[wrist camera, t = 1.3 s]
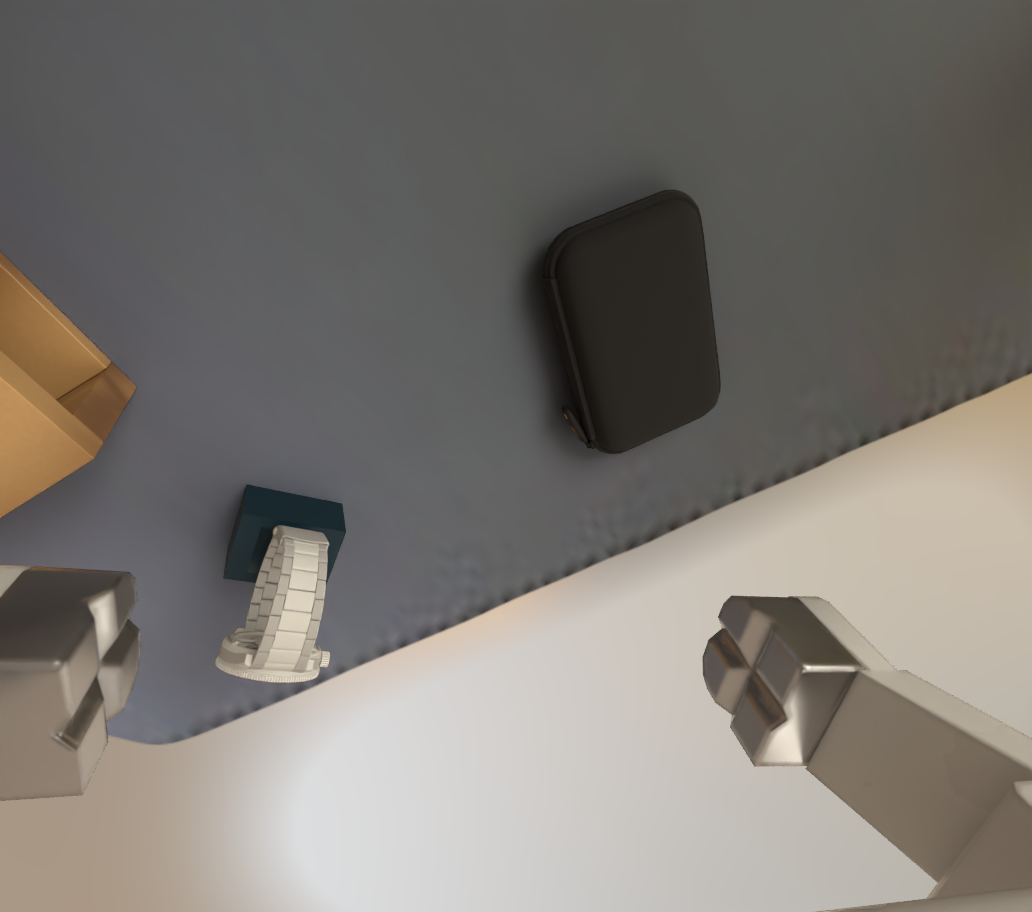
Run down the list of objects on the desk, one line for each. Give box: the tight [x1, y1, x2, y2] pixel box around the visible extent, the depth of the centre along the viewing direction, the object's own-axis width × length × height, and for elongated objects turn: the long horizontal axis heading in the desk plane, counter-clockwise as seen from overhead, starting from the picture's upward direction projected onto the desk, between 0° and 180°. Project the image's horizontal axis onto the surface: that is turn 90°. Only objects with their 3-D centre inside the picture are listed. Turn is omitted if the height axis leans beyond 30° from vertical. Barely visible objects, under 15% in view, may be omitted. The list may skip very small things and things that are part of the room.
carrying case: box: [542, 190, 720, 454], centre depth 37 cm, size 11×3×15 cm
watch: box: [215, 485, 346, 683], centre depth 32 cm, size 6×8×11 cm
